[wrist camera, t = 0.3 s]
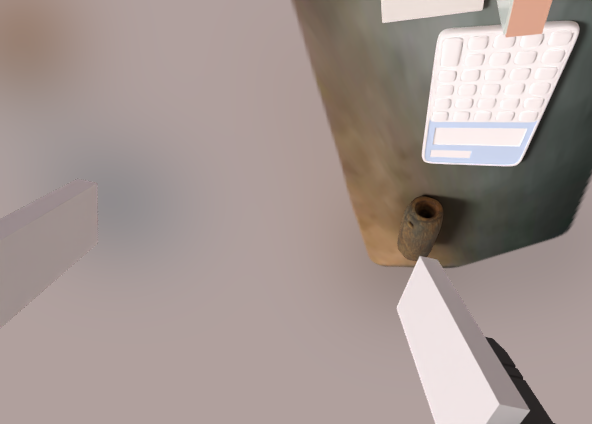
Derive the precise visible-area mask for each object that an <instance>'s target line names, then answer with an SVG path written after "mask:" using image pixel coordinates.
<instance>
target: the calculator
mask: <svg viewBox="0 0 592 424" xmlns="http://www.w3.org/2000/svg"><path fill="white" fill-rule="evenodd" d="M579 30H580V28H579V25H578V23H576V22H574V21H548V22H545V25H544V29H543V32H542V34H535V35H525V36H515V37H506V36H505V34H503V30H502V25H488V26H473V27H458V28H450V29H445V30H444V31H442V32H441V33H440V34H439V36H438V40H437V45H436V51H435V59H434V66H433V73H432V81H431V88H430V96H429V103H428V111H427V118H426V126H425V133H424V140H423V148H422V159H423V160H424V161H425V162H427V163H434V164H460V165H487V166H514V165H517V164H519V163H520V162H521V160H522V159H523V157H524V155H525V153H526V151H527V148H528V146H529V144H530V142H531V140H532V137H533V135H534V133H535V131H536V129H537V126H538V124H539V122H540V120H541V117H542V115H543V113H544V111H545V109H546V106H547V104H548V102H549V100H550V98H551V95H552V93H553V91H554V89H555V87H556V84H557V82H558V80H559V78H560V76H561V73H562V71H563V69H564V67H565V65H566V62H567V60H568V58H569V56H570V54H571V51H572V49H573V47H574V45H575V42H576V40H577V37H578V35H579ZM462 44H463V45H462ZM467 47H468V48H467ZM461 49H462V50H461ZM484 56H485V57H484ZM456 74H457V75H456ZM550 84H551V85H550ZM476 88H477V89H476ZM528 92H529V93H528Z"/></svg>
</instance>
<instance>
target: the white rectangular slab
mask: <svg viewBox="0 0 592 424" xmlns="http://www.w3.org/2000/svg"><path fill="white" fill-rule="evenodd" d="M483 3H484V0H381V7H382V23H386V22H394V21H402V20H409V19H417V18H425V17H433V16H441V15H449V14H457V13H464V12H472V11H480V10H482V9H483Z"/></svg>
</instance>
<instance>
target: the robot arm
mask: <svg viewBox="0 0 592 424" xmlns="http://www.w3.org/2000/svg"><path fill="white" fill-rule="evenodd" d="M97 199H98V198H97V183H95V182H91V181H86V180H82V179H76V180H74V181H72V182H70V183H68V184H66V185H64V186H62V187H60V188H58V189H56V190H55V191H53V192H51V193H49V194H47V195H45V196H43V197H41V198H39V199H37V200H35V201H33V202H32V203H30V204H28V205H26V206H24V207H22V208H20V209H18V210H16V211H14V212H13V213H10V214H9V215H7V216H5V217H3V218H1V219H0V328H1V327H2V326H4V325H5V324H6V323H7V322H8V321H9V320H11V319H12V318H13V317H14V316H15V315H16V314H17V313H18V312H19V311H21V310H22V309H23V308H24V307H25V306H27V305H28V304H29V303H30V302H31V301H32V300H33V299H35V298H36V297H37V296H38V295H39V294H40V293H41V292H43V291H44V290H45V289H46V288H47V287H48V286H49V285H51V284H52V283H53V282H54V281H55V280H56V279H57V278H59V277H60V276H61V275H62V274H63V273H64V272H65V271H66V270H68V269H69V268H70V267H71V266H72V265H74V264H75V263H76V262H77V261H78V260H79V259H80V258H82V257H83V256H84V255H85V254H86V253H87V252H88V251H90V250H91V249H92V248H93V247H94V246H95V245H96V244H98V203H97V202H98V201H97ZM397 311H398V314H399V317H400V319H401V322H402V326H403V328H404V332H405V334H406V337H407V340H408V343H409V346H410V349H411V352H412V355H413V358H414V361H415V364H416V367H417V370H418V373H419V376H420V379H421V382H422V385H423V388H424V391H425V394H426V397H427V400H428V403H429V406H430V409H431V412H432V415H433V418H434V421H435V424H555V423H553V422H552V421H551V419H550V418H549V416H548V415H547V413H546V411H545V410H544V408H543V407H542V405H541V404H540V402H539V401H538V399H537V398H536V396H535V395H534V393H533V392H532V390H531V389H530V387H529V386H528V384H527V383H526V381H525V380H523V376H522V375H521V373H520V372H519V370H518V369H517V368H515V364H514V363H513V361H512V360H511V358H510V357H509V355H508V354H507V352H506V351H505V350H504V349H503V348H502V347H501V346H500V345H499V344H498V343H497V342H496V341H495V340H494V339H492V338H487V337H485V336H484V335H483V333H482V331H481V330H480V328H479V327H478V325H477V323H476V322H475V320H474V318H473V317H472V315H471V314H470V312H469V311H468V309H467V307H466V305H465V304H464V302H463V300H462V299H461V297H460V296H459V294H458V292H457V291H456V289H455V288H454V286H453V284H452V283H451V281H450V279H449V278H448V276H447V275H446V273H445V271H444V270H443V268H442V266H441V265H440V263H439V261H438V260H436V259H431V258H427V257H423V256H419V259H418V261H417V263H416V265H415V268H414V270H413V272H412V275H411V277H410V279H409V281H408V284H407V286H406V288H405V290H404V292H403V295H402V297H401V299H400V301H399V304H398V306H397Z"/></svg>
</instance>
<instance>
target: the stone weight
mask: <svg viewBox="0 0 592 424" xmlns="http://www.w3.org/2000/svg"><path fill="white" fill-rule="evenodd" d="M442 220H443V208H442V205H441V204H440V203H439V202H438V201H437V200H435V199H432V198H429V197H425V196H421V197H417V198H415V199H414V200H413V201H412V202H411V203H410V204H409V205H408V206H407V208H406V210H405V213H404V215H403V219H402V222H401V227H400V231H399V235H398V249H399V251H400V252H401V253H402V254H403V256H404V257H405V258H407V259H408V260H412V261H418V259H419V256H423V257H427V256H428V255H429V253H430V252H431V250H432V248H433V245H434V243H435V241H436V238H437V236H438V234H439V231H440V228H441V225H442Z"/></svg>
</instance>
